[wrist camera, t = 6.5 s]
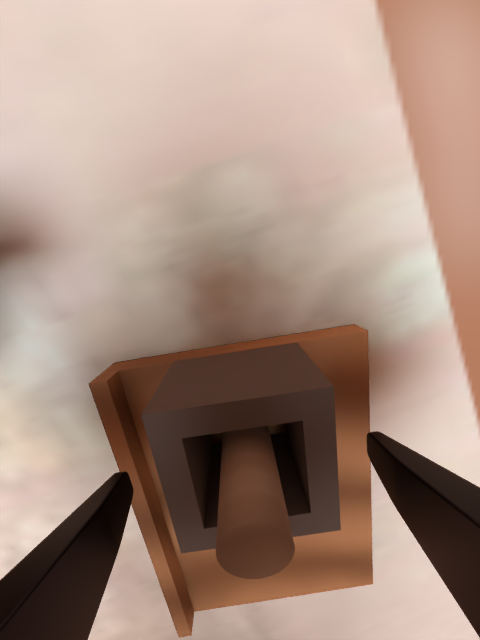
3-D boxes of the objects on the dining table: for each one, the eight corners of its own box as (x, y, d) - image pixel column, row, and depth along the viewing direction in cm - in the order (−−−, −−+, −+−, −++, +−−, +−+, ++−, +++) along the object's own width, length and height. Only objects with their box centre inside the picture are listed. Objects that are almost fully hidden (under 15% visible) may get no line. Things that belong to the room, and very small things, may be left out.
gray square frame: (306, 445, 12) (340, 529, 8) (197, 461, 12) (181, 553, 8) (297, 342, 11) (334, 386, 7) (174, 361, 11) (140, 414, 7)
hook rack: (362, 560, 16) (462, 786, 9) (185, 588, 16) (150, 833, 9) (354, 324, 12) (529, 408, 5) (114, 362, 12) (-53, 499, 5)
